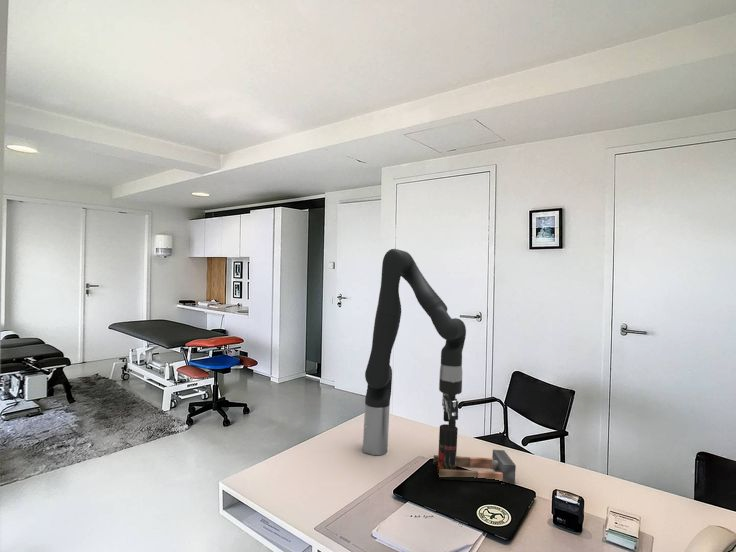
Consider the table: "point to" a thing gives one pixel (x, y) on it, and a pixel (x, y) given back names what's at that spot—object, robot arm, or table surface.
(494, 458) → the guide channel
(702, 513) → the table surface
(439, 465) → the deodorant
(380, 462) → the table surface
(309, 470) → the table surface
